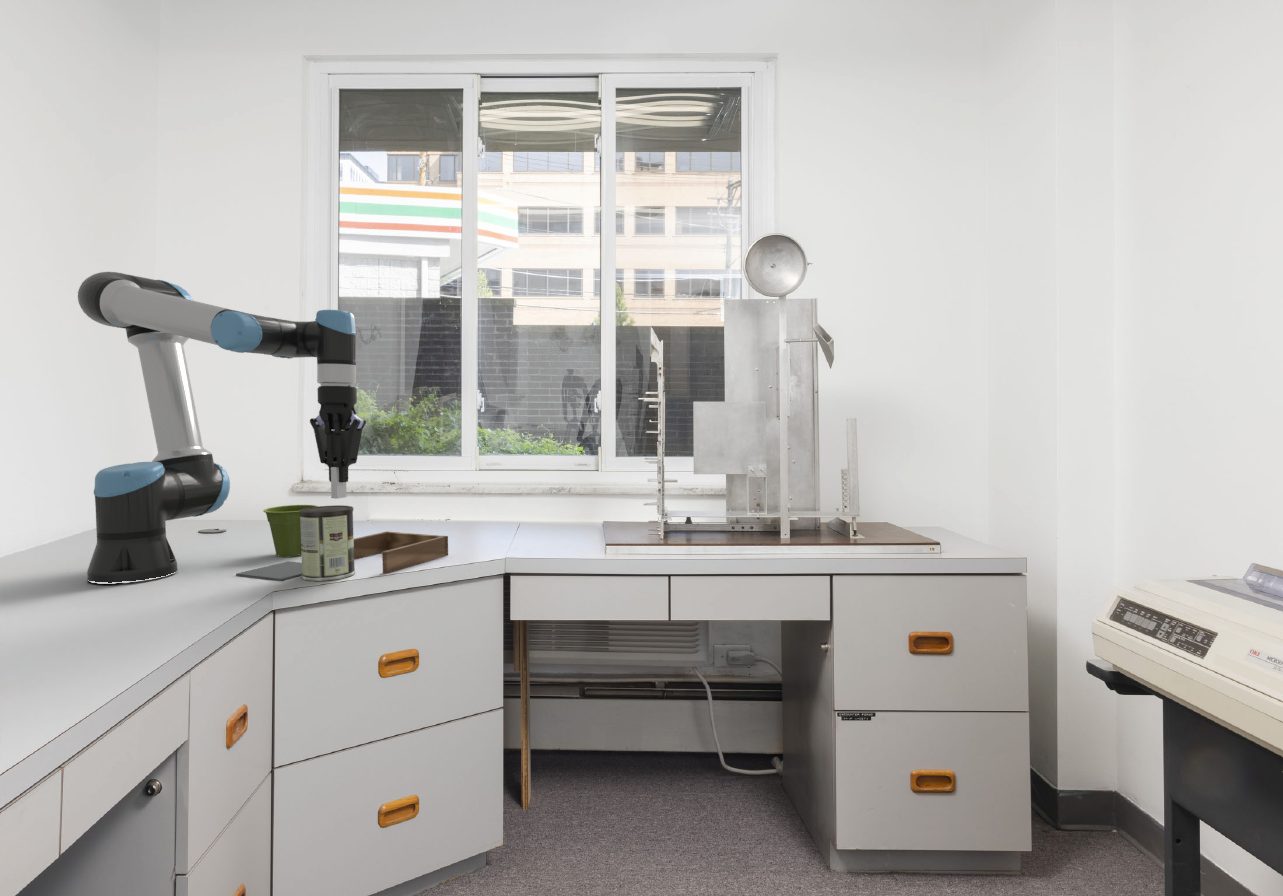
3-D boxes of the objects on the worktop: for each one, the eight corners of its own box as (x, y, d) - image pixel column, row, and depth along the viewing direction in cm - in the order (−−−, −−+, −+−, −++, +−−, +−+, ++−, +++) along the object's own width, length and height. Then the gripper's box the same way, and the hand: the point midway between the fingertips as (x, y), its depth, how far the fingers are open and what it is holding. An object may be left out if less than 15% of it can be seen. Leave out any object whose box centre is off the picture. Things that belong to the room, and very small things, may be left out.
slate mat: (236, 575, 147) (235, 573, 147) (288, 563, 159) (288, 561, 159) (281, 580, 142) (281, 578, 142) (332, 567, 154) (331, 565, 154)
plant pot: (265, 552, 171) (263, 506, 171) (318, 548, 177) (317, 503, 176) (264, 561, 161) (262, 512, 160) (321, 556, 166) (320, 509, 166)
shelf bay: (321, 566, 156) (320, 546, 155) (387, 549, 175) (386, 531, 174) (387, 573, 149) (386, 552, 149) (448, 554, 168) (447, 536, 168)
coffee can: (328, 568, 154) (326, 504, 153) (365, 572, 150) (364, 506, 149) (289, 579, 144) (287, 510, 143) (328, 583, 140) (326, 513, 140)
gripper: (374, 385, 149) (376, 497, 150) (326, 386, 153) (328, 494, 154) (348, 384, 142) (350, 501, 143) (298, 385, 146) (300, 498, 147)
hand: (338, 497), depth 149 cm, fingers closed
